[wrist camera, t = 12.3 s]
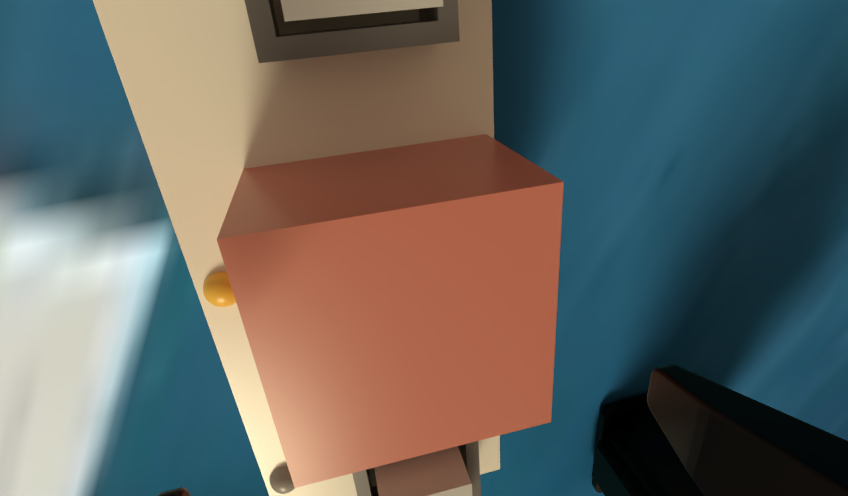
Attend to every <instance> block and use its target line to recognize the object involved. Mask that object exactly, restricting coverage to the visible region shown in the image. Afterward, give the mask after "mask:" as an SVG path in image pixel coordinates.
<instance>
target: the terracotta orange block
mask: <svg viewBox="0 0 848 496" xmlns="http://www.w3.org/2000/svg"><path fill="white" fill-rule="evenodd" d="M563 183H564V182H563V181H561V180H560V179H558V178H556V177H555V176H553V175H552V174H550V173H548V172H547V171H545V170H544V169H542V168H540V167H539V166H537V165H535V164H534V163H532V162H531V161H529V160H527V159H526V158H524V157H523V156H521V155H519V154H518V153H516V152H514V151H513V150H511V149H510V148H508V147H506V146H505V145H503V144H502V143H500V142H498V141H497V140H495V139H493V138H492V137H490V136H489V135H487V134H483V135H476V136H469V137H462V138H455V139H448V140H441V141H434V142H427V143H420V144H413V145H406V146H399V147H392V148H385V149H378V150H371V151H364V152H357V153H350V154H343V155H336V156H329V157H323V158H316V159H309V160H302V161H295V162H288V163H281V164H274V165H267V166H260V167H253V168H246V169H243V171H242V174H241V176H240V179H239V182H238V184H237V187H236V190H235V192H234V195H233V198H232V200H231V203H230V206H229V208H228V211H227V213H226V216H225V219H224V221H223V224H222V227H221V229H220V232H219V235H218V237H217V242H218V246H219V249H220V252H221V255H222V258H223V262H224V265H225V268H226V271H227V274H228V278H229V281H230V284H231V287H232V290H233V293H234V297H235V300H236V303H237V306H238V309H239V313H240V316H241V319H242V322H243V325H244V329H245V332H246V335H247V338H248V341H249V344H250V348H251V351H252V354H253V357H254V360H255V364H256V367H257V370H258V373H259V376H260V380H261V383H262V386H263V389H264V392H265V395H266V399H267V402H268V405H269V408H270V411H271V415H272V418H273V421H274V424H275V427H276V431H277V434H278V437H279V440H280V443H281V446H282V450H283V453H284V456H285V459H286V462H287V466H288V469H289V472H290V475H291V478H292V482H293V485H294V488H297V487H301V486H305V485H308V484H312V483H316V482H320V481H324V480H328V479H332V478H336V477H340V476H343V475H347V474H351V473H355V472H359V471H363V470H367V469H371V468H374V467H378V466H382V465H386V464H390V463H394V462H398V461H402V460H405V459H409V458H413V457H417V456H421V455H425V454H429V453H433V452H437V451H440V450H444V449H448V448H452V447H456V446H460V445H464V444H468V443H471V442H475V441H479V440H483V439H487V438H491V437H495V436H499V435H502V434H506V433H510V432H514V431H518V430H522V429H526V428H530V427H534V426H537V425H541V424H545V423H549V422H551V411H552V392H553V373H554V354H555V335H556V316H557V297H558V278H559V259H560V240H561V221H562V202H563Z"/></svg>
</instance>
